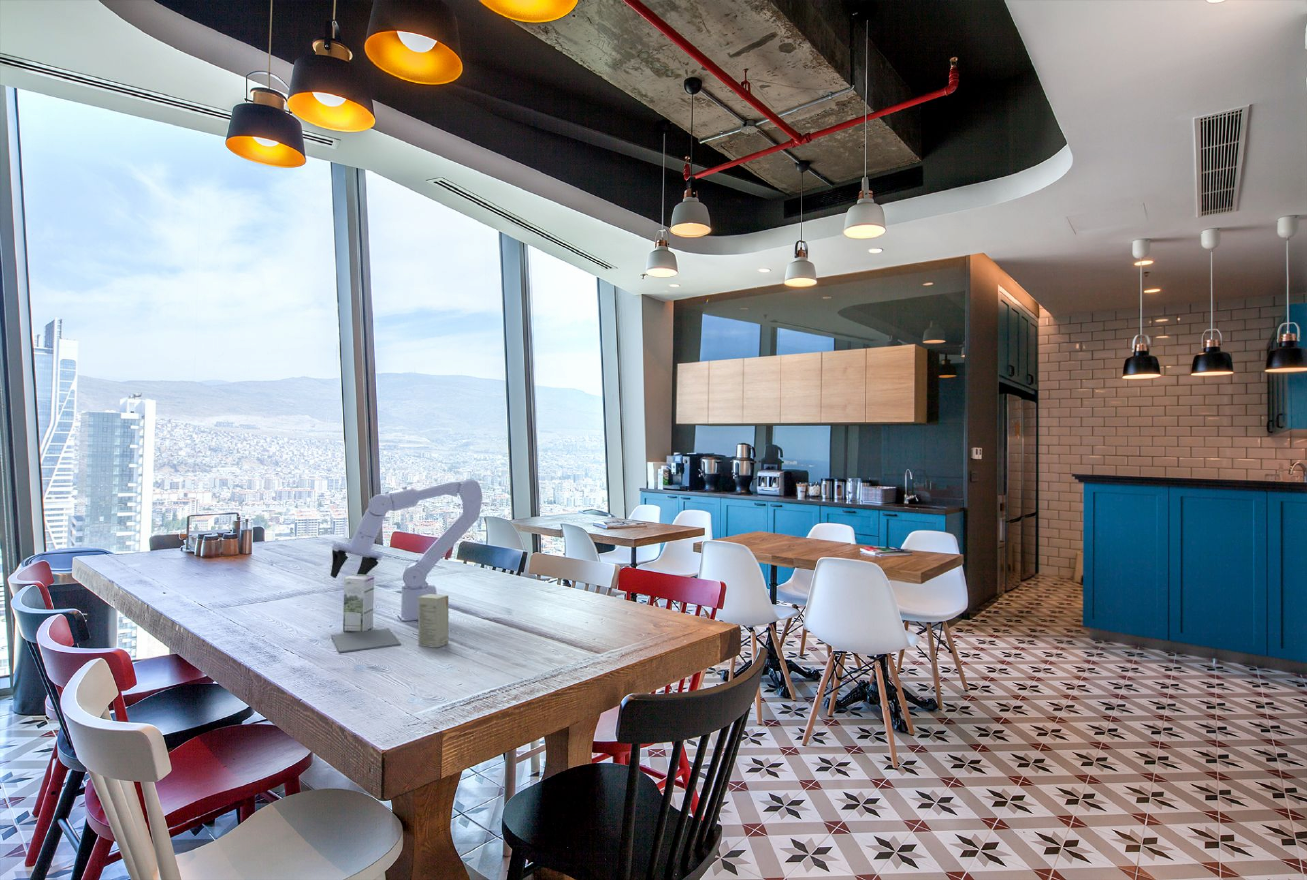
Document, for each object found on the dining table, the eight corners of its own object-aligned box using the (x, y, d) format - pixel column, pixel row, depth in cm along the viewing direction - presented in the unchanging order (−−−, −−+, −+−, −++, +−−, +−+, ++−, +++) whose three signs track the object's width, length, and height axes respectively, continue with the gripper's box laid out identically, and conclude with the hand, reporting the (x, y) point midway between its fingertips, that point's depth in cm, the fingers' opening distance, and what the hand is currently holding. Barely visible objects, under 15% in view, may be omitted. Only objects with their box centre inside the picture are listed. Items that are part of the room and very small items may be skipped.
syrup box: (373, 627, 180) (375, 574, 180) (362, 633, 174) (363, 578, 174) (353, 626, 181) (355, 573, 181) (341, 632, 175) (343, 577, 175)
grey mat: (388, 629, 178) (388, 628, 178) (400, 645, 164) (400, 643, 164) (331, 636, 170) (331, 635, 170) (339, 653, 157) (339, 651, 157)
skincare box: (449, 643, 166) (450, 595, 166) (438, 648, 162) (439, 598, 162) (427, 640, 168) (429, 592, 168) (416, 645, 164) (417, 596, 164)
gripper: (381, 535, 196) (361, 578, 195) (336, 524, 185) (315, 569, 183) (393, 543, 192) (372, 587, 190) (348, 531, 181) (326, 578, 179)
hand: (345, 579), depth 186 cm, fingers open, 7 cm apart
